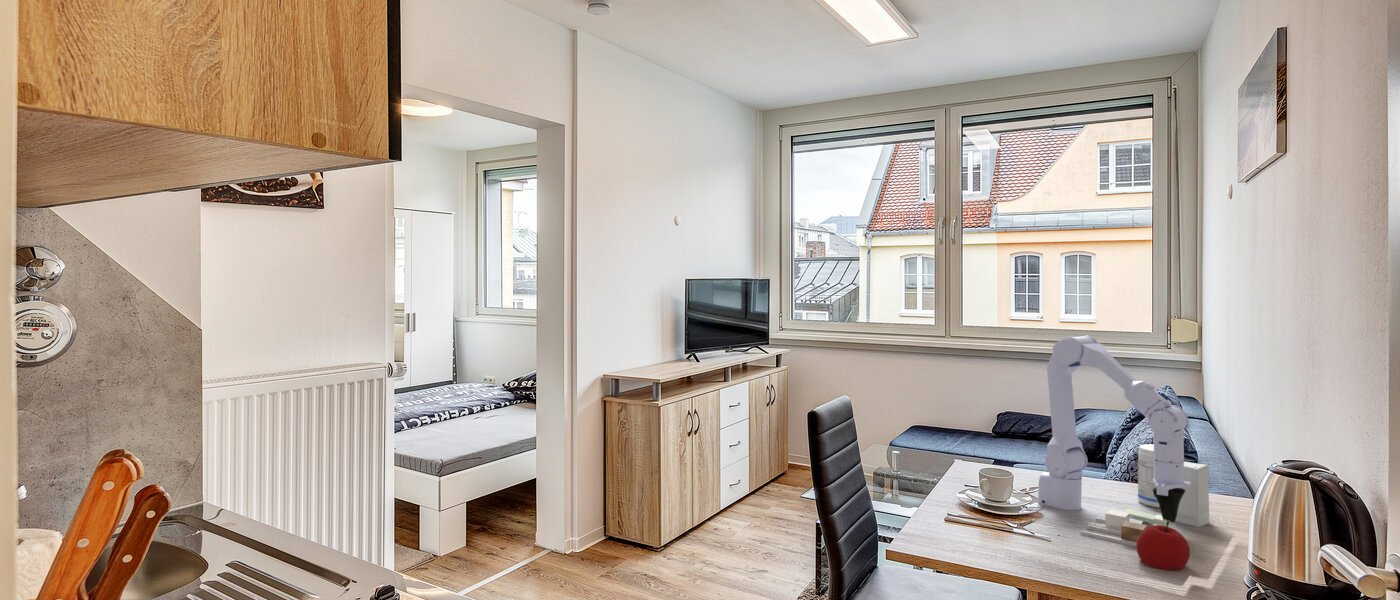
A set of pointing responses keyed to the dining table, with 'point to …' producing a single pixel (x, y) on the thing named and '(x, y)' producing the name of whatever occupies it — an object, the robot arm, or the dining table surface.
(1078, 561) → the dining table surface
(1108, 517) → the white cube
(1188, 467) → the skincare box
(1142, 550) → the apple
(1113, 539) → the control board
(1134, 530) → the brown cube
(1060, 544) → the dining table surface
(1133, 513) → the sage rocker
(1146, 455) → the supplement tub
